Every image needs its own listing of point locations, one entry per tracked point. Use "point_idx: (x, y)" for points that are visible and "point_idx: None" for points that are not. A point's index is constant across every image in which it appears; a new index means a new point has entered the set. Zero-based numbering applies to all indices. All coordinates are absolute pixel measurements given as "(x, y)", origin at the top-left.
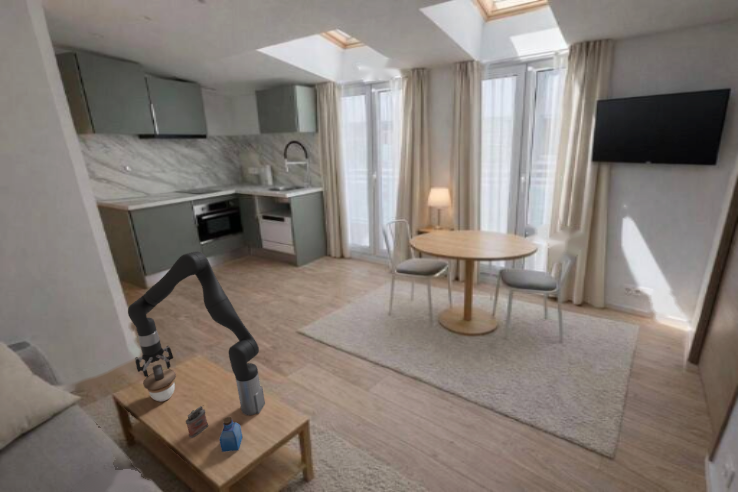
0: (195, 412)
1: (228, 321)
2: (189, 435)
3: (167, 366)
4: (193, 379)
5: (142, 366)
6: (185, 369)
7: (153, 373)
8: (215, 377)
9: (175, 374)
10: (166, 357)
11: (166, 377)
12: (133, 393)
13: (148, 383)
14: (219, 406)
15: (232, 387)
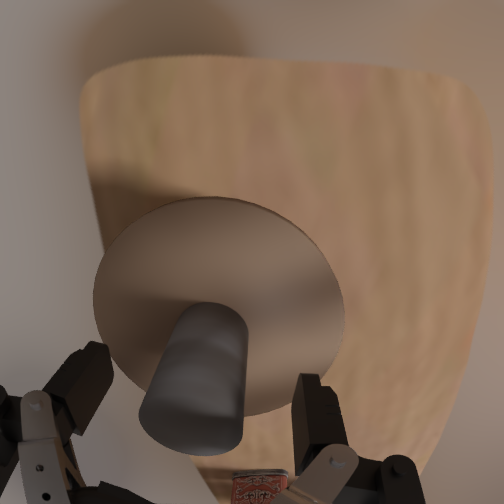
0: None
1: None
2: (233, 479)
3: (295, 431)
4: (404, 236)
5: (25, 420)
6: (415, 98)
7: (185, 216)
8: (458, 306)
9: (326, 369)
10: (336, 486)
11: (258, 365)
12: (119, 94)
13: (126, 332)
14: (351, 446)
15: (435, 400)
